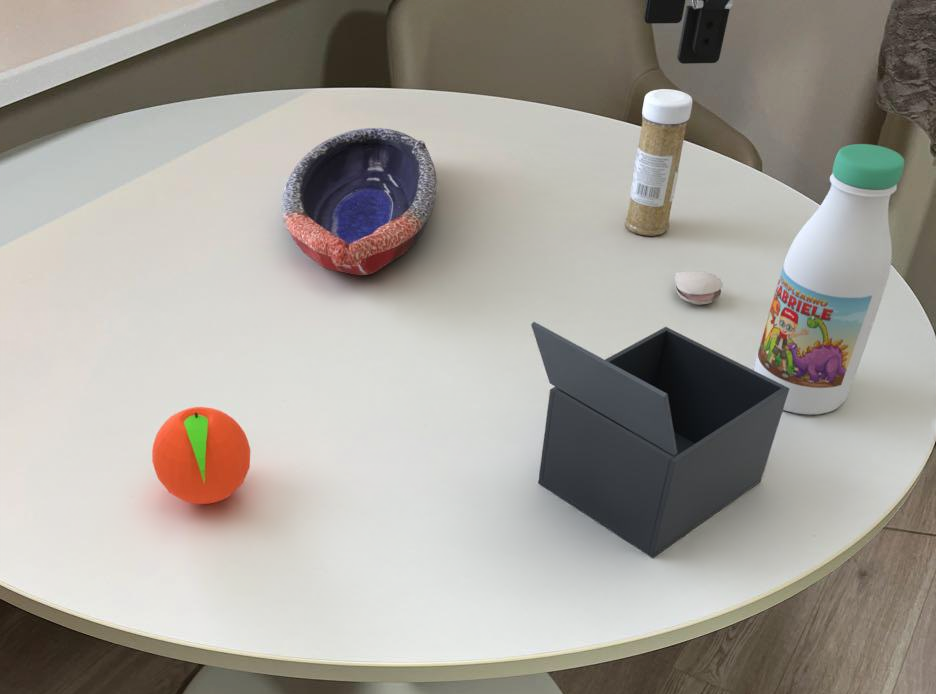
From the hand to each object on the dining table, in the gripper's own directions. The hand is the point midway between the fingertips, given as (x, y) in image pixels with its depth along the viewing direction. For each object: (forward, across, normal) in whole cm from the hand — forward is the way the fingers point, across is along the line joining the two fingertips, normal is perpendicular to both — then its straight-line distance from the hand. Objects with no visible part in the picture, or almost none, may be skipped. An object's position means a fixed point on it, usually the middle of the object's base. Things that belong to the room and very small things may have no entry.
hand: (678, 41), depth 85 cm
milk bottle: (+22, -18, -9) cm, 30 cm away
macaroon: (+22, -2, -5) cm, 23 cm away
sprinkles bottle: (+22, +12, -5) cm, 26 cm away
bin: (+22, -29, +6) cm, 37 cm away
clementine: (+23, -28, +39) cm, 53 cm away
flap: (+10, -33, +13) cm, 37 cm away
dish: (+23, +16, +25) cm, 37 cm away
